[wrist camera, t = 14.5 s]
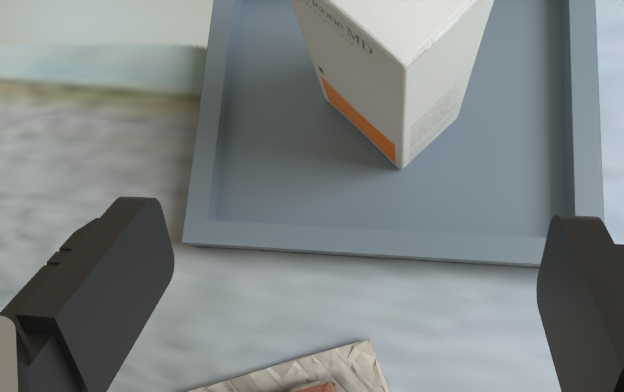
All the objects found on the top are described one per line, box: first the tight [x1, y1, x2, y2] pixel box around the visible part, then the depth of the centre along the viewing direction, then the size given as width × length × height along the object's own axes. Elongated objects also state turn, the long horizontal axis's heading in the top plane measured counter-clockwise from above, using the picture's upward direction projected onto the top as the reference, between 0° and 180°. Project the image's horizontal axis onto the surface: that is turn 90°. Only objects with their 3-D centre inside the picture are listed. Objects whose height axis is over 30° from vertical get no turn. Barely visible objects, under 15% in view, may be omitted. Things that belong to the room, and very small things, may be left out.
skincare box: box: [291, 0, 494, 170], centre depth 21 cm, size 6×4×12 cm
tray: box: [182, 0, 604, 268], centre depth 27 cm, size 20×16×2 cm
